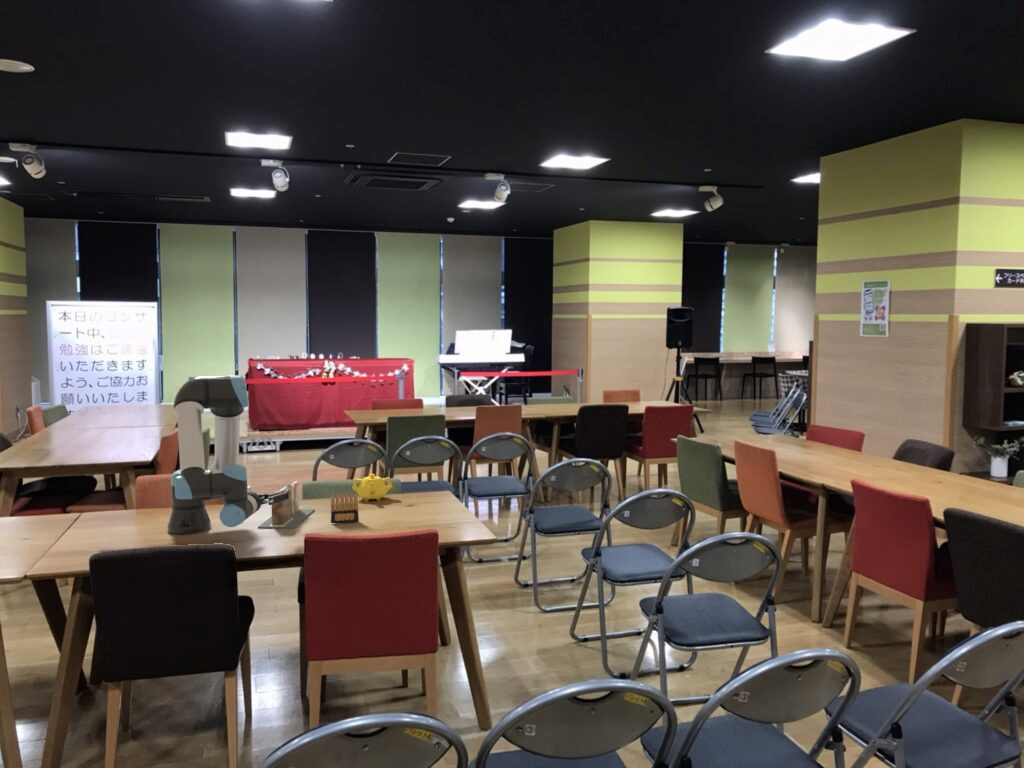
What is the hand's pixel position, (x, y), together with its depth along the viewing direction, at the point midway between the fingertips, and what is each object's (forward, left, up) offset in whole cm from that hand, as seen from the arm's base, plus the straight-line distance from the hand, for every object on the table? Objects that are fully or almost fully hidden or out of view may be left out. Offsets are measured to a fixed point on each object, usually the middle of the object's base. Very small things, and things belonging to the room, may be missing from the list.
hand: (268, 489), depth 284 cm
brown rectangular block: (-7, +12, -16) cm, 21 cm away
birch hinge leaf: (-14, +23, -16) cm, 31 cm away
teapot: (-5, +61, -17) cm, 64 cm away
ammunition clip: (+13, +26, -17) cm, 34 cm away
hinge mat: (-11, +18, -17) cm, 27 cm away
